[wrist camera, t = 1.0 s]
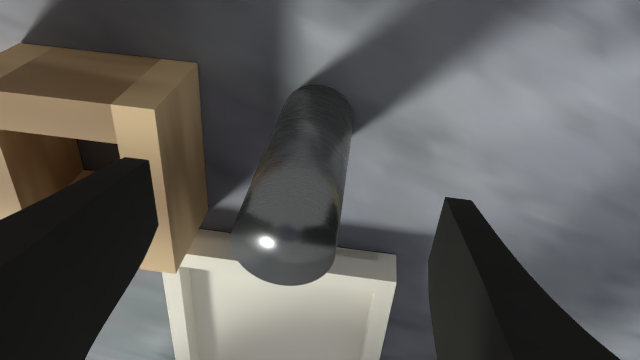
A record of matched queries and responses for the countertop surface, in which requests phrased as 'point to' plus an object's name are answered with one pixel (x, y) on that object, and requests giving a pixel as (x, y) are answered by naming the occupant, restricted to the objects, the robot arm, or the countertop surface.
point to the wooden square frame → (104, 132)
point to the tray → (277, 307)
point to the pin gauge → (297, 191)
